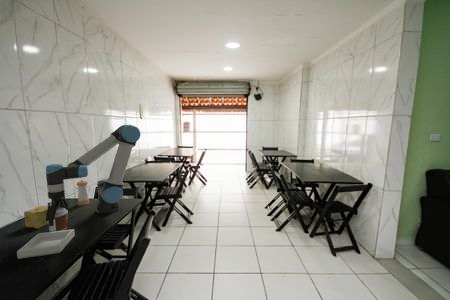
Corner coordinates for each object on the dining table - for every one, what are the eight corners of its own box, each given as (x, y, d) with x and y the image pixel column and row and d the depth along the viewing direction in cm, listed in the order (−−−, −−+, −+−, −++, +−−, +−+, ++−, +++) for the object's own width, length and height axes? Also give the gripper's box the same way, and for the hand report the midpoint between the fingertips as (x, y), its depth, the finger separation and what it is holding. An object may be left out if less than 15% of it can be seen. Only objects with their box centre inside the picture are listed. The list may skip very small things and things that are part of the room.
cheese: (38, 229, 120) (36, 213, 119) (24, 227, 122) (22, 211, 121) (55, 221, 130) (54, 206, 129) (42, 219, 133) (41, 205, 131)
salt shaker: (84, 201, 164) (82, 178, 162) (91, 202, 162) (89, 179, 160) (75, 204, 157) (73, 180, 155) (82, 205, 155) (80, 181, 153)
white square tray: (74, 235, 114) (74, 229, 113) (59, 252, 98) (59, 246, 98) (39, 239, 109) (38, 233, 109) (17, 258, 93) (16, 251, 93)
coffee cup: (56, 234, 114) (54, 214, 113) (46, 231, 117) (44, 212, 116) (73, 227, 123) (71, 208, 121) (63, 224, 126) (61, 206, 124)
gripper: (59, 185, 128) (62, 216, 130) (34, 198, 104) (38, 236, 107) (73, 184, 130) (75, 215, 132) (52, 197, 106) (55, 235, 109)
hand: (59, 225), depth 120 cm, fingers open, 13 cm apart
